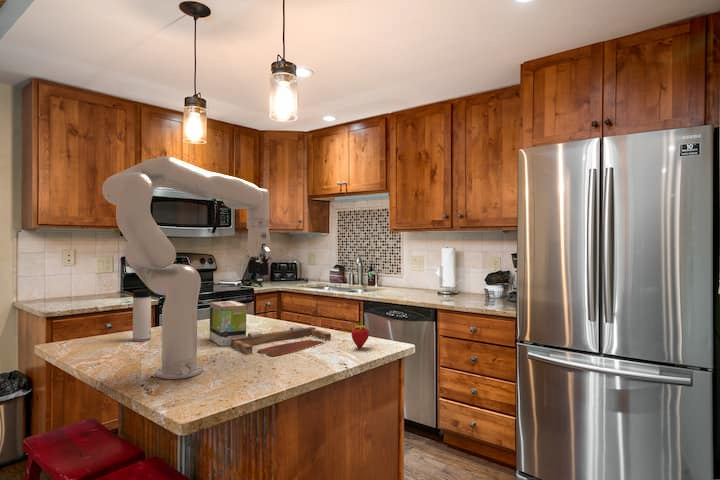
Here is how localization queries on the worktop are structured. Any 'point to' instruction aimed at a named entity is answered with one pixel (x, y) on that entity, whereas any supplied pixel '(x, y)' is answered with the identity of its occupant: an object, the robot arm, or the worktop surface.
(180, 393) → the worktop surface
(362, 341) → the strawberry
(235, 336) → the tea box
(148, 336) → the travel mug
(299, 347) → the wooden tablet
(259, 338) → the hinge frame
